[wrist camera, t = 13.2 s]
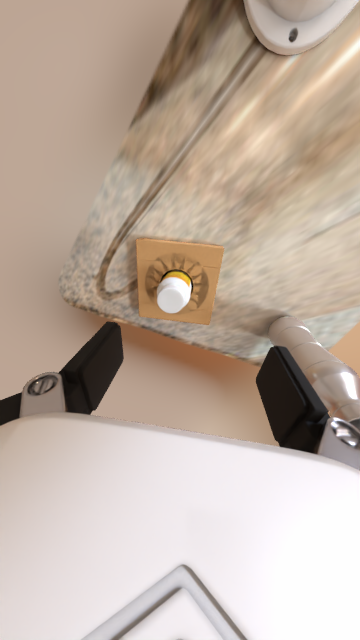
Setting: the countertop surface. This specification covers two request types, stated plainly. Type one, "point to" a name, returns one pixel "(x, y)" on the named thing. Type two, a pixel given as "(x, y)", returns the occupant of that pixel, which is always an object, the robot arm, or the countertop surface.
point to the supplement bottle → (174, 291)
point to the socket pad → (183, 256)
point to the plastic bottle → (320, 369)
